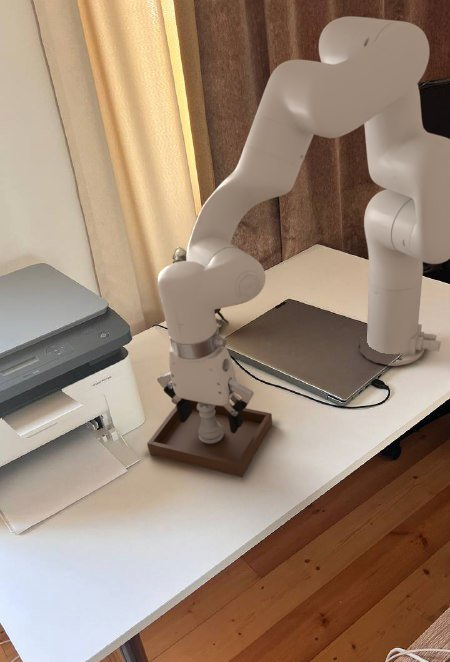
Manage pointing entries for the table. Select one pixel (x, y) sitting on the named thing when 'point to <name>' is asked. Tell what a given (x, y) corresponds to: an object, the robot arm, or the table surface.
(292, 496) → the table surface
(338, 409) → the table surface
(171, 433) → the tray
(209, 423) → the rook chess piece
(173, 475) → the table surface
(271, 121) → the robot arm
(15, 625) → the table surface
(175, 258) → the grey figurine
